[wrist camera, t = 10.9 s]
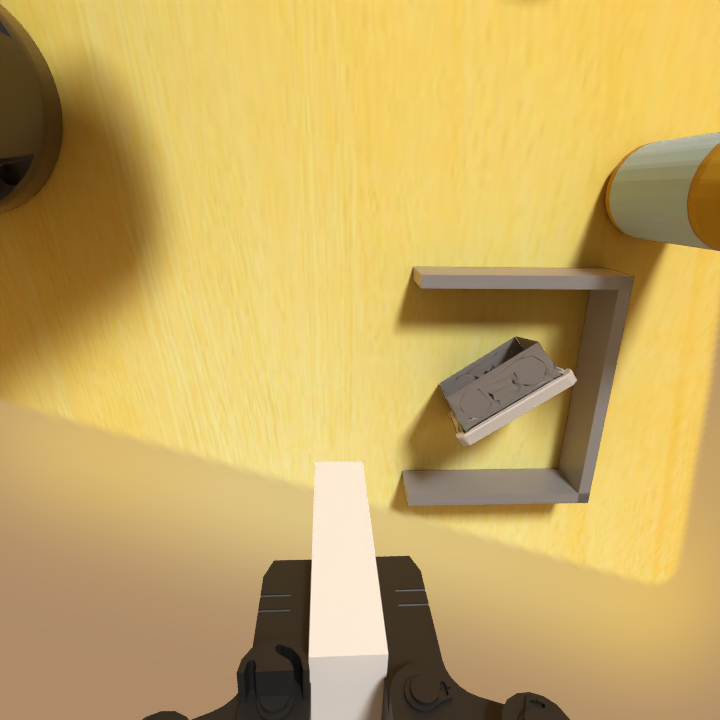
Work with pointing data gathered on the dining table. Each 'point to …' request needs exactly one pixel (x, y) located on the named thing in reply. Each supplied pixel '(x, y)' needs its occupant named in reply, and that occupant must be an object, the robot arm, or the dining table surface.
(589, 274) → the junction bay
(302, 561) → the robot arm
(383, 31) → the dining table surface
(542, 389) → the electrical switch
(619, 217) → the bottle
